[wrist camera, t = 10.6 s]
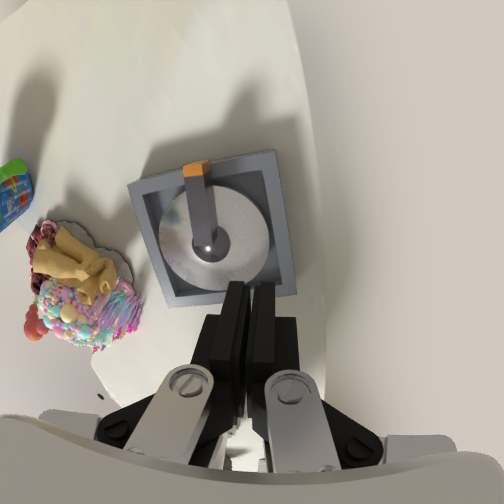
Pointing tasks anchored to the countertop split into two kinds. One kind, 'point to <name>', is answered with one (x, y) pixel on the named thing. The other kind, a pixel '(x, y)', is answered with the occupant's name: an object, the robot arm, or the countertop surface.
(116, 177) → the countertop surface
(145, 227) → the housing
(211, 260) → the dial
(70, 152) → the countertop surface
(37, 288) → the pastel sphere sculpture
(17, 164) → the snack cup
